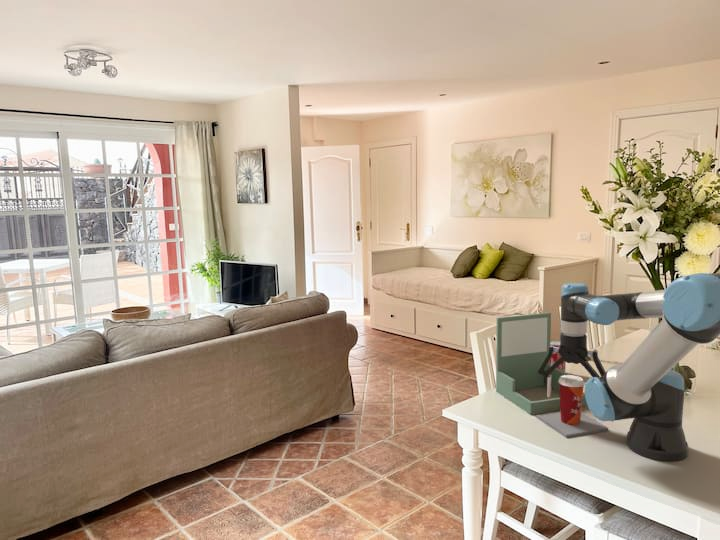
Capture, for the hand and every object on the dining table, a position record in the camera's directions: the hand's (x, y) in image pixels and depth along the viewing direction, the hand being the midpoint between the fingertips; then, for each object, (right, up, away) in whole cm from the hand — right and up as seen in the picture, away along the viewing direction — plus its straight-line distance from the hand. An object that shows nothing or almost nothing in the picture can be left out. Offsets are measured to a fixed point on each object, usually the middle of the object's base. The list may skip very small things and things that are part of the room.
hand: (571, 399), depth 162 cm
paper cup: (0, -7, +1) cm, 7 cm away
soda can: (+13, -2, +46) cm, 48 cm away
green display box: (-2, -5, +22) cm, 23 cm away
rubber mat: (0, -8, +1) cm, 8 cm away
